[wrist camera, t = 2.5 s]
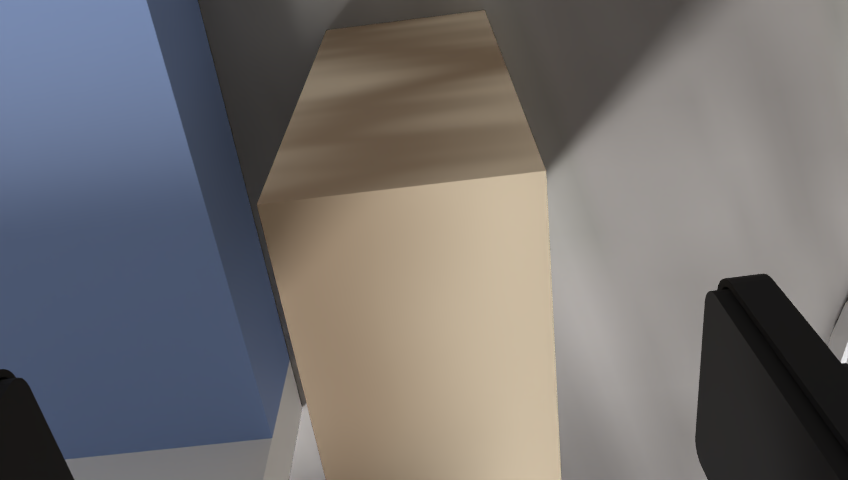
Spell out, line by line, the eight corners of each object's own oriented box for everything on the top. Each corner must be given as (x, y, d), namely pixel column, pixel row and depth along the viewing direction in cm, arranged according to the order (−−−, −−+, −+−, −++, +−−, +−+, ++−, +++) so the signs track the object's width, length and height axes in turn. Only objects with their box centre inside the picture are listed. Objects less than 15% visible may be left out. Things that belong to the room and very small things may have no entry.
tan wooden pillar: (484, 9, 19) (546, 170, 10) (502, 222, 22) (561, 487, 13) (326, 30, 19) (256, 204, 11) (364, 237, 22) (333, 509, 14)
